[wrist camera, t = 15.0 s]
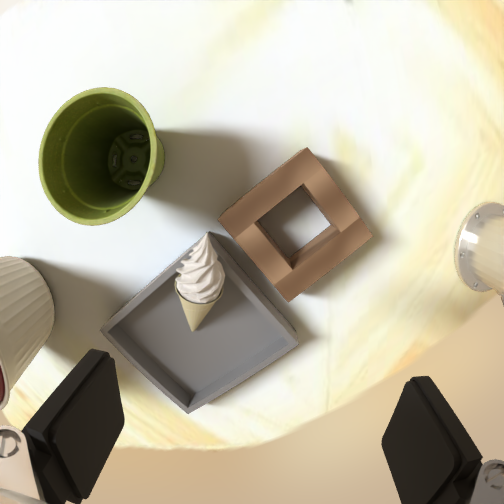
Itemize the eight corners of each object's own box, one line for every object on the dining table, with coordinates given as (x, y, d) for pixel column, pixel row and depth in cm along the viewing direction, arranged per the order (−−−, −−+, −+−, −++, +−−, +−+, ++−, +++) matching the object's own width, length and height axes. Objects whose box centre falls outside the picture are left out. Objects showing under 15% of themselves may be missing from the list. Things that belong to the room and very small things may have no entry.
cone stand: (359, 228, 36) (373, 236, 32) (284, 287, 38) (288, 302, 34) (300, 149, 34) (307, 147, 30) (222, 213, 36) (217, 219, 32)
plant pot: (203, 180, 35) (180, 185, 24) (116, 225, 36) (68, 247, 25) (161, 90, 32) (125, 61, 22) (79, 140, 34) (23, 135, 23)
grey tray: (295, 330, 39) (298, 344, 36) (191, 398, 42) (187, 414, 39) (209, 231, 36) (204, 237, 33) (110, 318, 39) (99, 330, 36)
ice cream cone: (207, 310, 41) (225, 214, 31) (218, 343, 38) (243, 249, 28) (168, 316, 39) (174, 217, 29) (177, 350, 36) (185, 254, 26)
